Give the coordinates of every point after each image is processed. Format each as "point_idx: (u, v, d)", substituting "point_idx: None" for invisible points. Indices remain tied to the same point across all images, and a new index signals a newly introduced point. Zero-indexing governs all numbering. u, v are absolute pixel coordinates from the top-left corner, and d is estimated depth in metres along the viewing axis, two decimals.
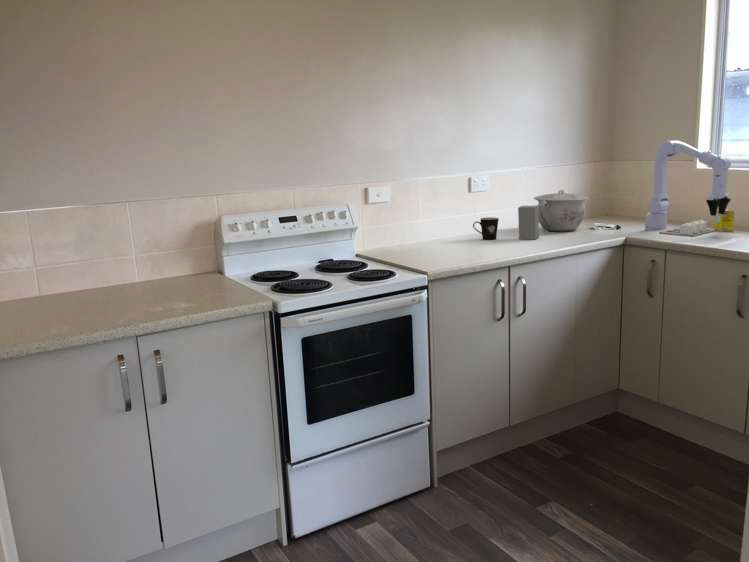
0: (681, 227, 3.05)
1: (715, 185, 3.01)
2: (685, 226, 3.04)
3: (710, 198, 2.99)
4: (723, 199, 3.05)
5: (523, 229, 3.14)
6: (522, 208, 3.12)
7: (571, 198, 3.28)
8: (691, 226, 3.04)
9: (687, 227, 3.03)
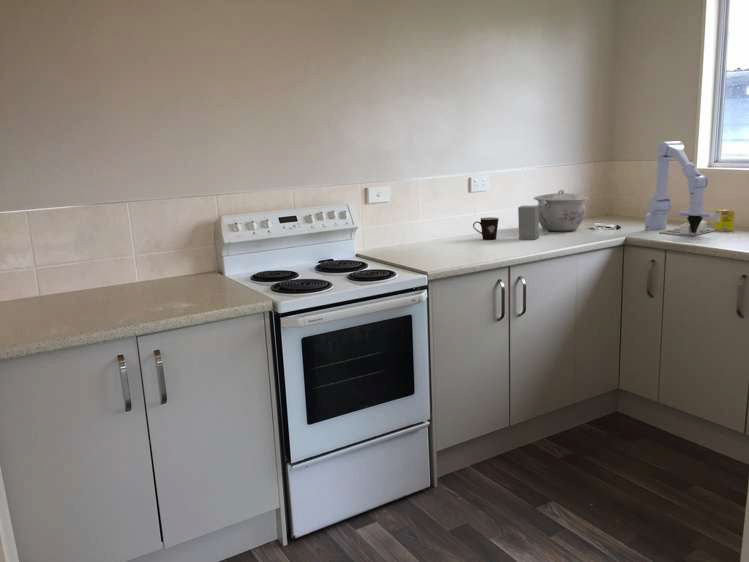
0: (680, 227, 3.05)
1: None
2: (685, 226, 3.04)
3: None
4: None
5: (523, 229, 3.14)
6: (522, 208, 3.12)
7: (571, 198, 3.28)
8: None
9: (687, 227, 3.03)
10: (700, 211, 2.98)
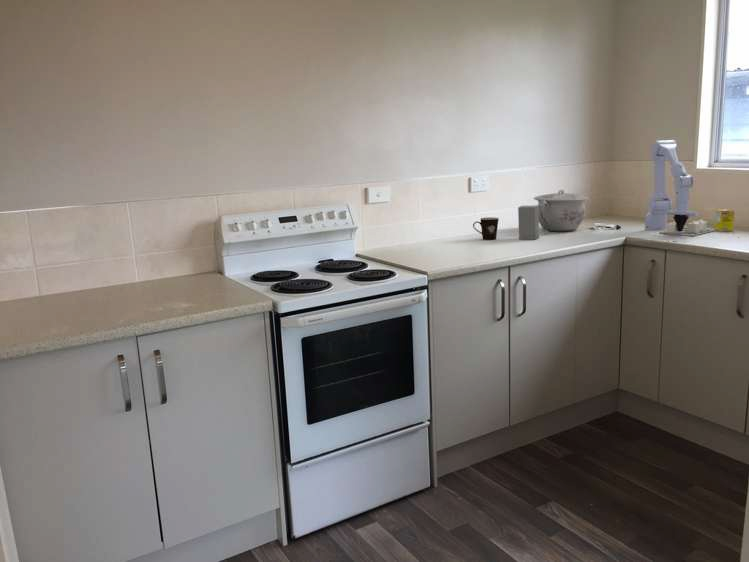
0: (667, 226, 3.10)
1: None
2: (671, 225, 3.09)
3: None
4: None
5: (523, 229, 3.14)
6: (522, 208, 3.12)
7: (571, 198, 3.28)
8: None
9: (673, 226, 3.08)
10: (686, 210, 3.03)
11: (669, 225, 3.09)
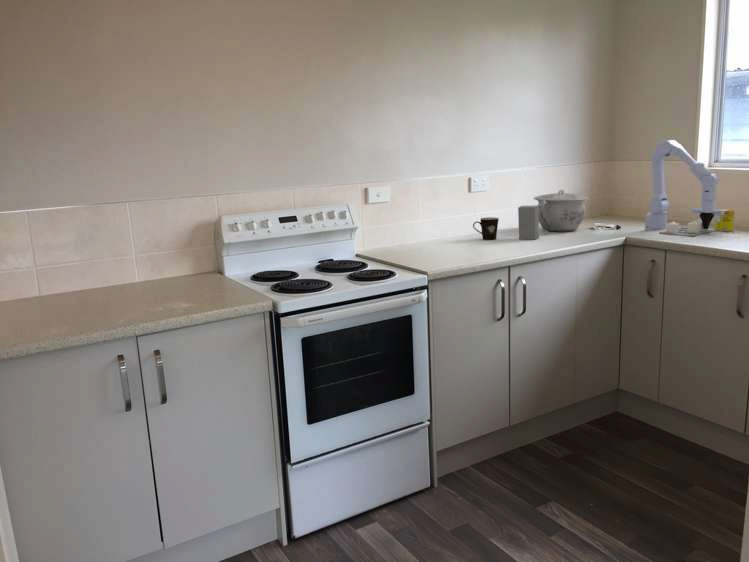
0: (667, 226, 3.10)
1: None
2: (671, 225, 3.09)
3: None
4: None
5: (523, 229, 3.14)
6: (522, 208, 3.12)
7: (571, 198, 3.28)
8: (677, 225, 3.09)
9: (673, 226, 3.08)
10: (712, 208, 3.08)
11: (669, 225, 3.09)
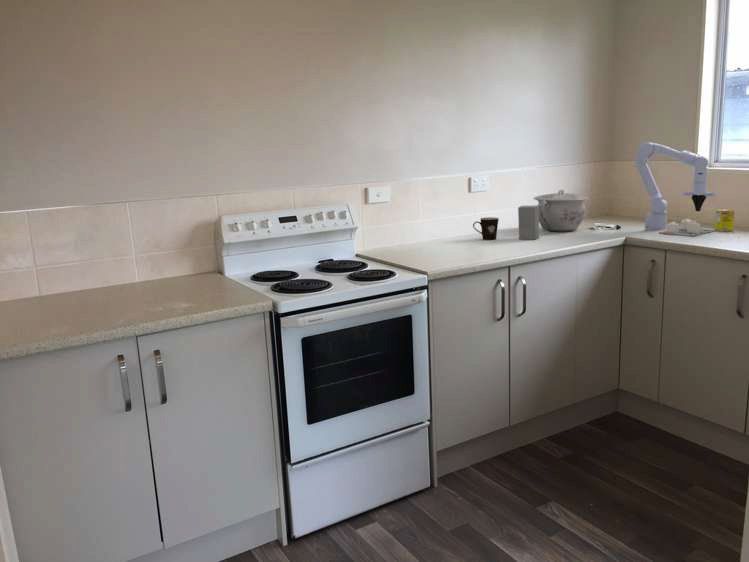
0: (667, 226, 3.10)
1: None
2: (671, 225, 3.09)
3: None
4: None
5: (523, 229, 3.14)
6: (522, 208, 3.12)
7: (571, 198, 3.28)
8: (677, 225, 3.09)
9: (673, 226, 3.08)
10: (704, 190, 3.13)
11: (669, 225, 3.09)
